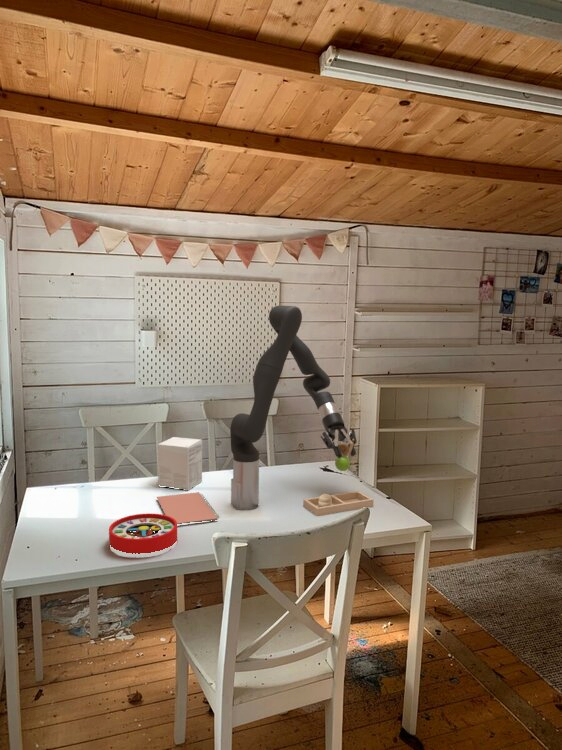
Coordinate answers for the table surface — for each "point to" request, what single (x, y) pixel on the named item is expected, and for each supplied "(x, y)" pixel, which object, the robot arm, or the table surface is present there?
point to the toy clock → (143, 533)
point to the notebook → (187, 508)
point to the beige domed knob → (325, 500)
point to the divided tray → (339, 503)
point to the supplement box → (180, 463)
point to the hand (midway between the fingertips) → (347, 456)
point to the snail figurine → (344, 456)
